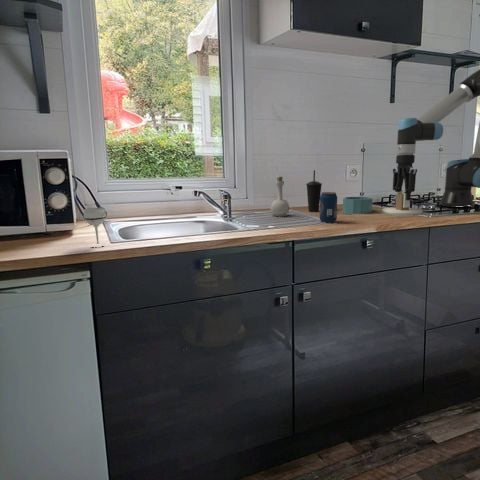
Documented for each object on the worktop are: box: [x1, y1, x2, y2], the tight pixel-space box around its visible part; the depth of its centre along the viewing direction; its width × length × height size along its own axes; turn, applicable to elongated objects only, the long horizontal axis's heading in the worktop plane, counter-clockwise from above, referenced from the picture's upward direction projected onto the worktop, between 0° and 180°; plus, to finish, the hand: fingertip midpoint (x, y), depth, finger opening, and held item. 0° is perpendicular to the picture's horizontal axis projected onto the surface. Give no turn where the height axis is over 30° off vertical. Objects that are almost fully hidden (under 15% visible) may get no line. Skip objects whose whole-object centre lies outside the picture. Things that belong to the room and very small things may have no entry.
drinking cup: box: [305, 170, 323, 213], centre depth 188 cm, size 8×8×20 cm
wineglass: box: [83, 207, 107, 244], centre depth 123 cm, size 7×7×12 cm
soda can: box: [319, 191, 338, 223], centre depth 159 cm, size 7×7×12 cm
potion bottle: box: [270, 176, 290, 217], centre depth 178 cm, size 9×9×18 cm
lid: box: [381, 193, 424, 216], centre depth 176 cm, size 17×17×8 cm
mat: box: [374, 209, 433, 217], centre depth 177 cm, size 18×18×1 cm
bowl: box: [342, 196, 373, 216], centre depth 181 cm, size 13×13×7 cm
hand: (402, 206), depth 176 cm, fingers open, 4 cm apart
